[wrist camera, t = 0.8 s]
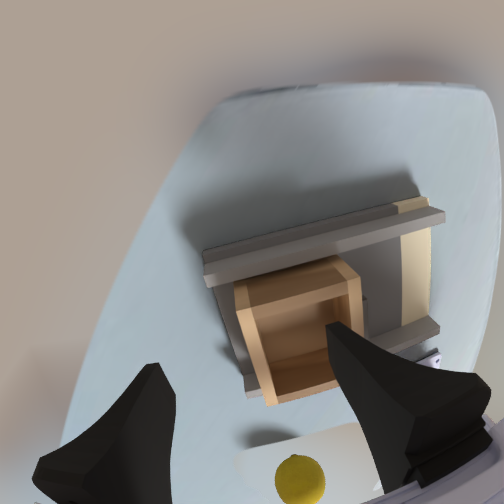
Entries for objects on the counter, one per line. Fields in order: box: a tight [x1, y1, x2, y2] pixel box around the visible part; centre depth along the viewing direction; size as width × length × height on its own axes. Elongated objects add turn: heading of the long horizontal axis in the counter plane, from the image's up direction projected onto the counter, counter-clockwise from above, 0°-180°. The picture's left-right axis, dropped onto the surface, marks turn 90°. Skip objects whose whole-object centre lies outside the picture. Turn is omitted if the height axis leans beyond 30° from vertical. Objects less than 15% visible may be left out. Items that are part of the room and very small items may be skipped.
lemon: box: [275, 454, 325, 504], centre depth 25 cm, size 6×6×8 cm
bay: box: [202, 196, 445, 399], centre depth 21 cm, size 12×17×3 cm
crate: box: [233, 254, 369, 407], centre depth 19 cm, size 8×8×4 cm
